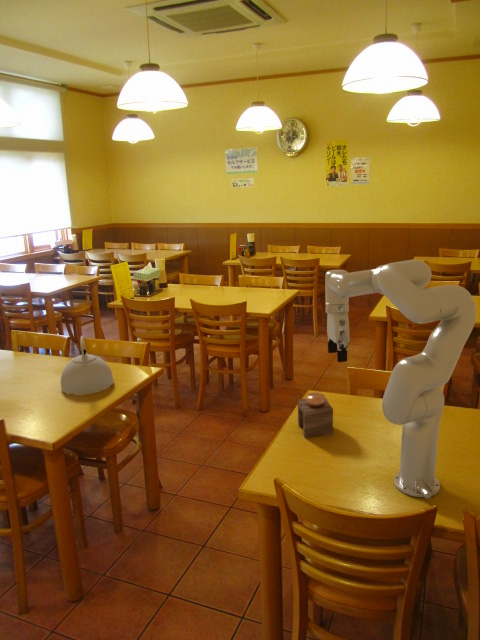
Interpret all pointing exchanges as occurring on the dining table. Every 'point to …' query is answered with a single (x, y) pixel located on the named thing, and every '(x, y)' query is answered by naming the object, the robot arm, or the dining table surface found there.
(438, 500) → the dining table surface
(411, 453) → the robot arm
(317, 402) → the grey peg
